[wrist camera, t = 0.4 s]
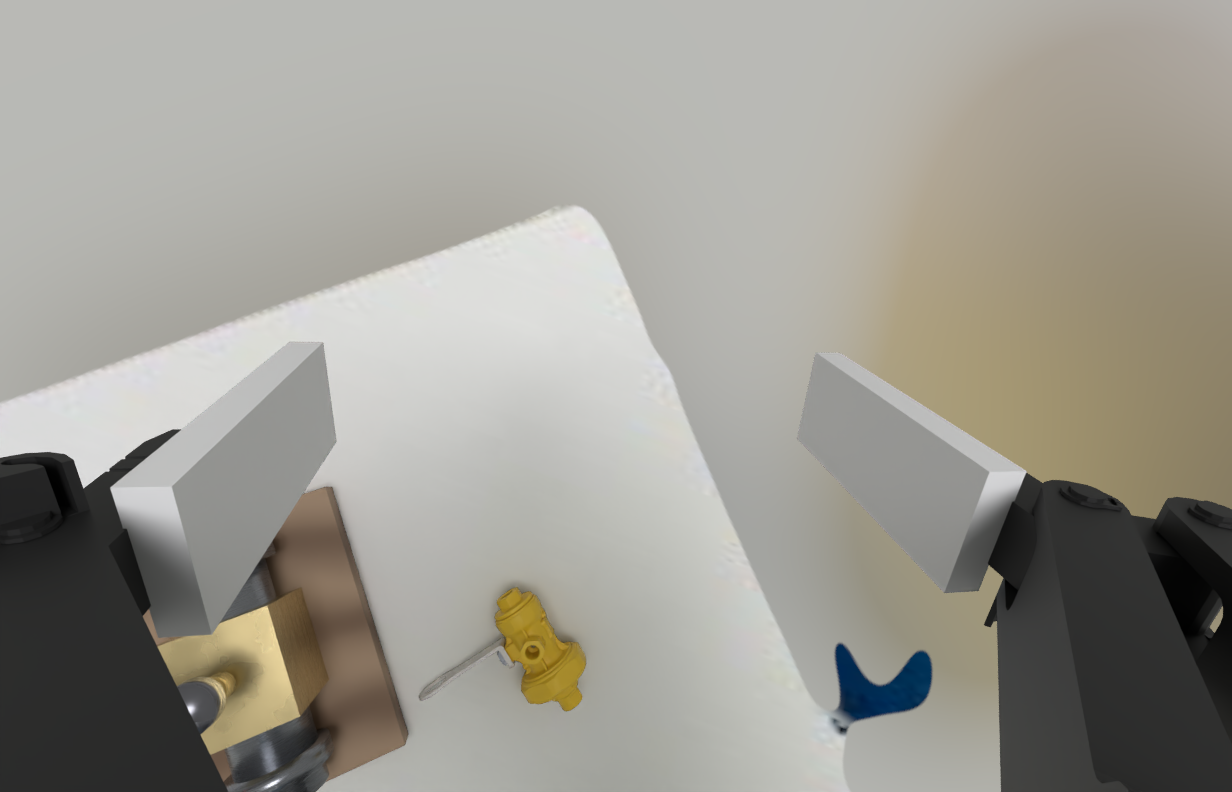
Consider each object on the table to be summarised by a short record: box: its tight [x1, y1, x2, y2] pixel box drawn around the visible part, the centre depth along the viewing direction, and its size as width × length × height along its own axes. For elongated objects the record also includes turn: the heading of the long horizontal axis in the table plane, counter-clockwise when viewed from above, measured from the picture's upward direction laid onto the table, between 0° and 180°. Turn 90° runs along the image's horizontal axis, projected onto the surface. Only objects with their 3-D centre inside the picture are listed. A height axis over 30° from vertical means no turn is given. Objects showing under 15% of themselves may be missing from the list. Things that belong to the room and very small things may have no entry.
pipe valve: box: [157, 541, 334, 792], centre depth 36 cm, size 18×7×10 cm, turn 20°
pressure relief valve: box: [419, 587, 586, 711], centre depth 44 cm, size 6×12×10 cm
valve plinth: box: [143, 487, 408, 782], centre depth 42 cm, size 20×14×2 cm
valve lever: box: [177, 677, 226, 735], centre depth 29 cm, size 15×3×2 cm, turn 110°
